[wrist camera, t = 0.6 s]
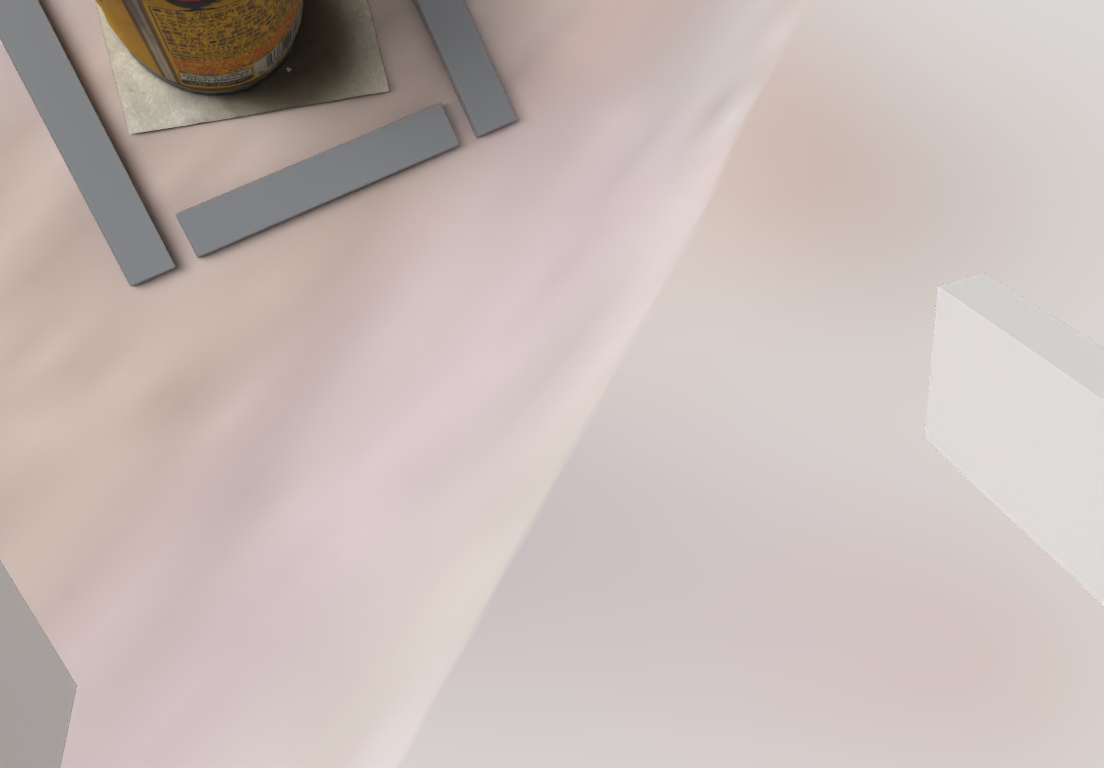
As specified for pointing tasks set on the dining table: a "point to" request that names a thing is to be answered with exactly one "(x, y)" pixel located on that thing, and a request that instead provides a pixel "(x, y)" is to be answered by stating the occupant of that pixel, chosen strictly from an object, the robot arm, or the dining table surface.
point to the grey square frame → (22, 25)
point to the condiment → (236, 57)
